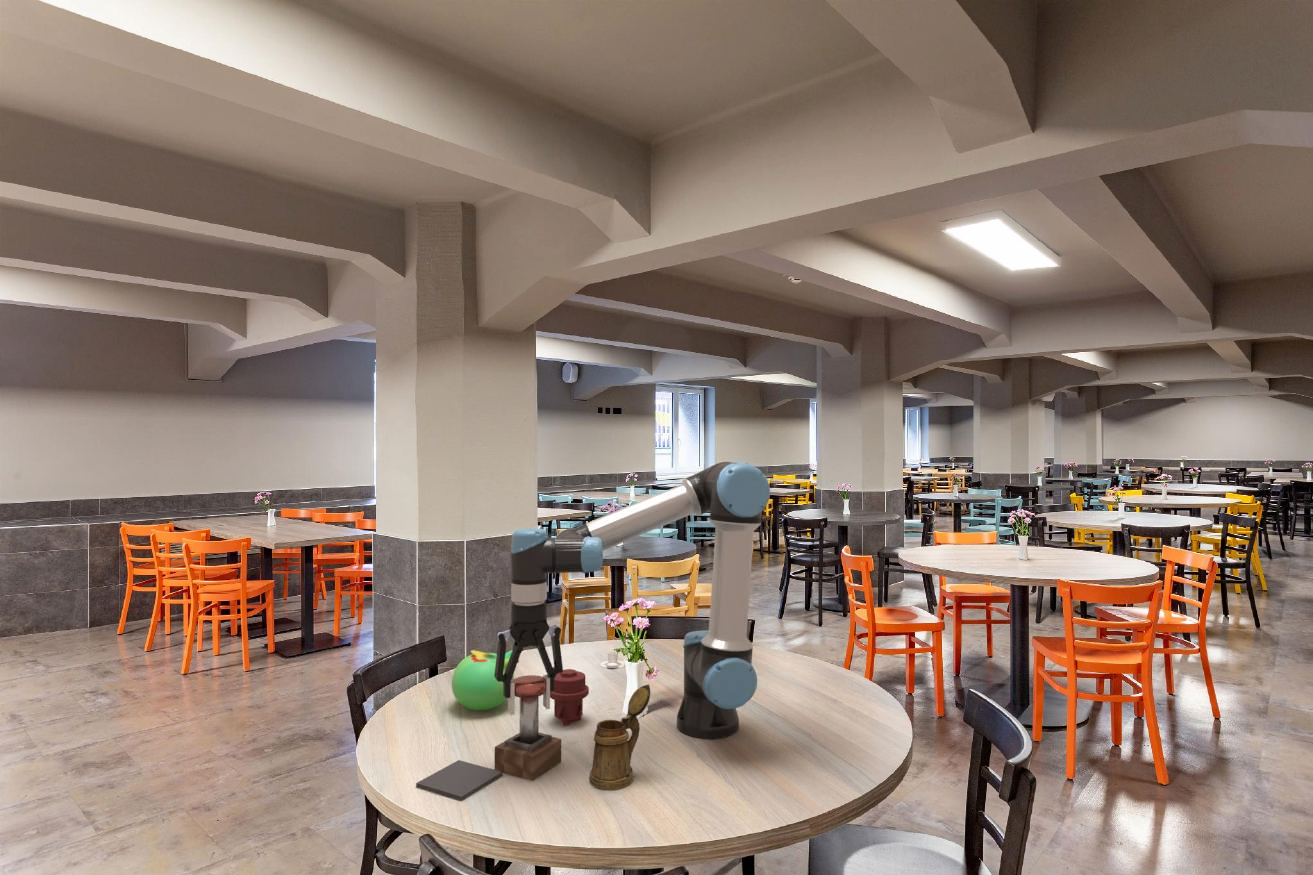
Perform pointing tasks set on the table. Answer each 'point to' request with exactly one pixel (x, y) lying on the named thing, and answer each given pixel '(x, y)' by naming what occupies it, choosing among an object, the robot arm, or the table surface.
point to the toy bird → (479, 681)
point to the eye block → (528, 756)
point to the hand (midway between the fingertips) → (529, 709)
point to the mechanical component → (569, 695)
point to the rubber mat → (459, 780)
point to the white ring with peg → (612, 661)
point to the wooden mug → (617, 745)
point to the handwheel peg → (529, 705)
